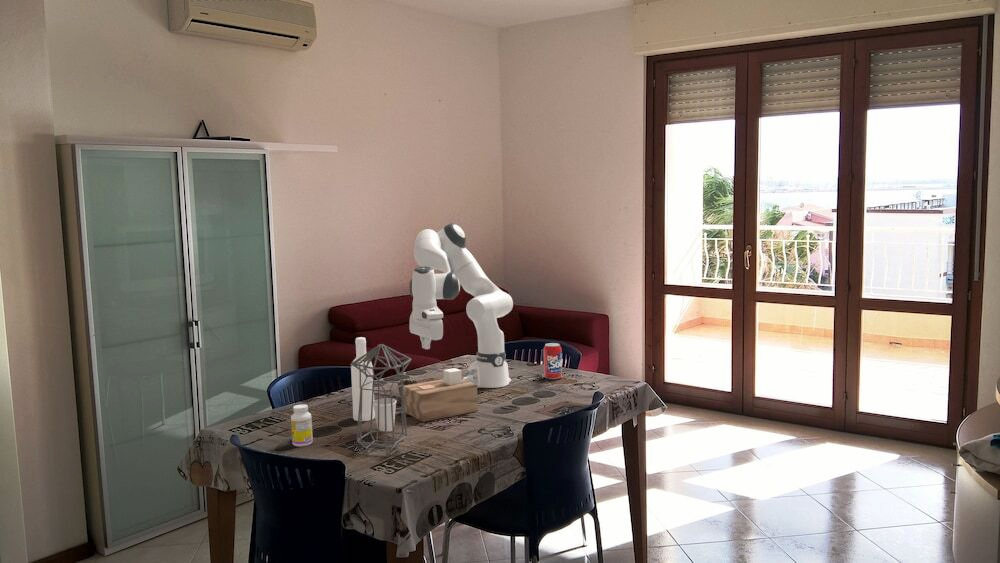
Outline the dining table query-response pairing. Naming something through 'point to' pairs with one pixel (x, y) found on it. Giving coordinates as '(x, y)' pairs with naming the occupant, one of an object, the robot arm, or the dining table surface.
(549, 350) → the soda can
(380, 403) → the dixie cup
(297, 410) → the supplement bottle
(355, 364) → the geometric lantern
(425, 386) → the peg terracotta
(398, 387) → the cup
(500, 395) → the dining table surface
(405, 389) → the light wood block
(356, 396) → the bottle
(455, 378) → the white rectangular block
